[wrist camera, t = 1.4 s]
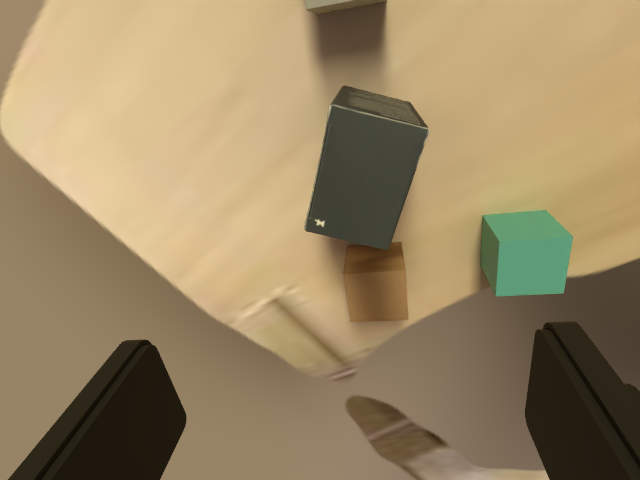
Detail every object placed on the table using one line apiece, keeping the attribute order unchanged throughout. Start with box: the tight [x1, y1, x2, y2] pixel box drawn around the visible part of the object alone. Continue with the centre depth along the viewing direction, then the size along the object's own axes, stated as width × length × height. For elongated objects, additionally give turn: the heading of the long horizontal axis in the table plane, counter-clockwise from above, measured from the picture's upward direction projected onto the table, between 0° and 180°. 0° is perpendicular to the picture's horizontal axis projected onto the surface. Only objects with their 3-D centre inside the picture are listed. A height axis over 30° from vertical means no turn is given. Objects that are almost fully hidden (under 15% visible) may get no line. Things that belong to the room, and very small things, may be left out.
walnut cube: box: [344, 242, 408, 322], centre depth 34 cm, size 5×5×5 cm
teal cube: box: [480, 210, 573, 296], centre depth 31 cm, size 5×5×5 cm
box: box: [304, 86, 430, 250], centre depth 26 cm, size 8×6×11 cm
